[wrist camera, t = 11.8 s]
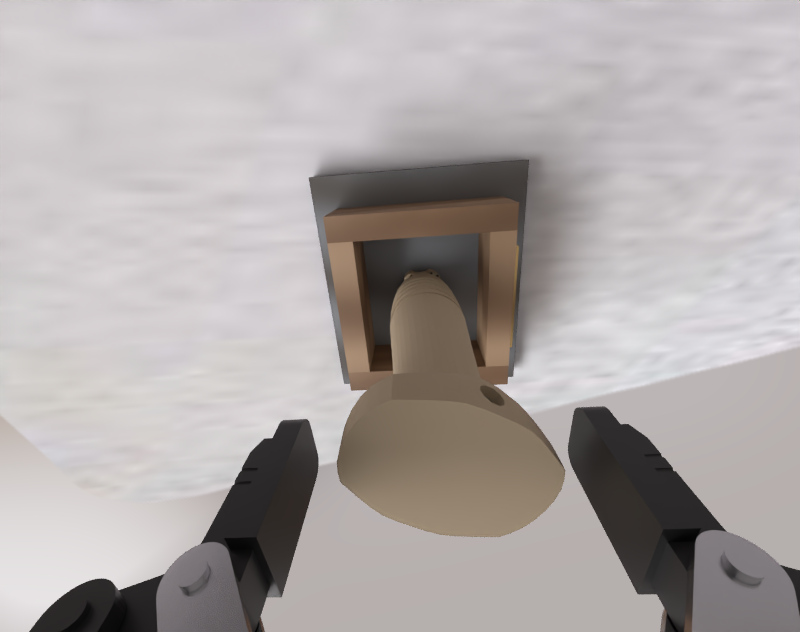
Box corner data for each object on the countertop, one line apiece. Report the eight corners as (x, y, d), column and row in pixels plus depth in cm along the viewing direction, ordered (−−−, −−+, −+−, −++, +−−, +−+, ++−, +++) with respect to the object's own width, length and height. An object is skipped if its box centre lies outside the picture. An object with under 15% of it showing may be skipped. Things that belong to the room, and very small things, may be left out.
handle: (395, 235, 22) (385, 367, 8) (480, 279, 23) (599, 458, 9) (363, 298, 23) (312, 493, 10) (444, 335, 25) (499, 555, 11)
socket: (313, 177, 21) (289, 180, 17) (523, 159, 21) (551, 159, 16) (346, 376, 28) (334, 413, 23) (509, 369, 27) (527, 406, 23)
